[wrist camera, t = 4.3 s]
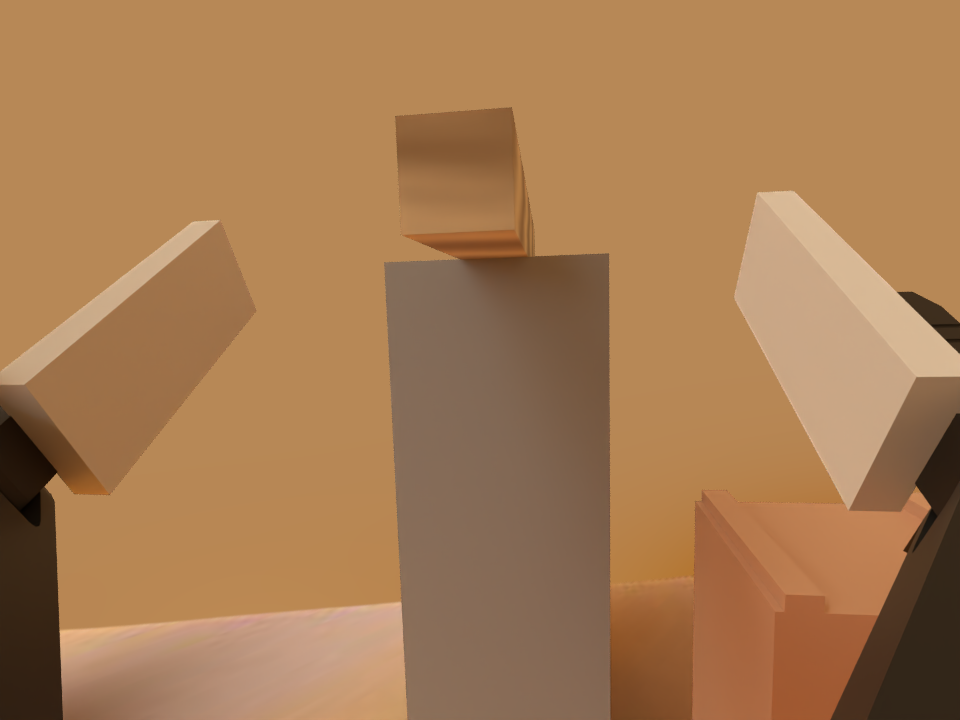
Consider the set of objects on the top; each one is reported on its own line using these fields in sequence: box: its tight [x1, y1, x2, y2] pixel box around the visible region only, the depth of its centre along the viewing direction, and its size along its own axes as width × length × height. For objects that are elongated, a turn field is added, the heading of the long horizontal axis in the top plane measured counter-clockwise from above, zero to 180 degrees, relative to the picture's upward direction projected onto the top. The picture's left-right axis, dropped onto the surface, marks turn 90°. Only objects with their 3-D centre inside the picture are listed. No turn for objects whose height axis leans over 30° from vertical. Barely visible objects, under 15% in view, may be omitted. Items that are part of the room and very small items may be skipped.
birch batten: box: [395, 108, 535, 259], centre depth 27 cm, size 26×3×3 cm, turn 173°
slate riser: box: [384, 254, 611, 720], centre depth 34 cm, size 16×10×30 cm, turn 173°
